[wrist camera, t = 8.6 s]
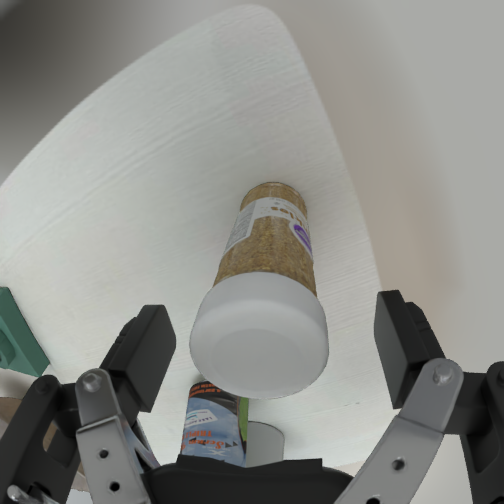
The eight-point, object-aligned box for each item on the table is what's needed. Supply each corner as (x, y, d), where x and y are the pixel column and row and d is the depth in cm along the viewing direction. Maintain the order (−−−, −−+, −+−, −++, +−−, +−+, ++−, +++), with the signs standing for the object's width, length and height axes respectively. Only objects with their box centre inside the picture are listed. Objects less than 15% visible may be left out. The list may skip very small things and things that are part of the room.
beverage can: (226, 362, 28) (202, 475, 18) (267, 401, 31) (258, 502, 20) (179, 379, 30) (148, 477, 20) (221, 414, 33) (204, 504, 22)
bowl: (34, 366, 35) (2, 415, 26) (137, 461, 45) (123, 504, 36) (-18, 372, 41) (-41, 404, 32) (62, 449, 52) (47, 480, 43)
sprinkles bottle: (320, 209, 21) (360, 358, 9) (276, 254, 23) (265, 417, 11) (268, 166, 20) (244, 276, 8) (226, 215, 22) (161, 360, 10)
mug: (206, 424, 34) (189, 500, 25) (269, 416, 32) (262, 501, 23) (246, 461, 39) (238, 524, 29) (300, 455, 37) (299, 522, 27)
